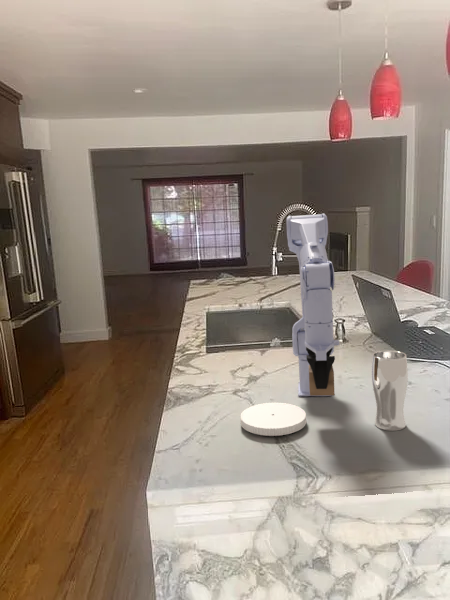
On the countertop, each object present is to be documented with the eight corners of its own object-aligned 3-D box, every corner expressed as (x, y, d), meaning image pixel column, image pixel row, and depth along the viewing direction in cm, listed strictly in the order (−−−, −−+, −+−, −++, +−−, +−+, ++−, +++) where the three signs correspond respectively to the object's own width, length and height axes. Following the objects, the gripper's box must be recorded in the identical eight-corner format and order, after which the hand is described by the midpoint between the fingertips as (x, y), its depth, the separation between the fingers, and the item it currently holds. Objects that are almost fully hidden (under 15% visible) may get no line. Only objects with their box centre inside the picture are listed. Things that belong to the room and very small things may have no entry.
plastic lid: (227, 427, 108) (226, 416, 107) (273, 408, 116) (272, 397, 116) (273, 447, 97) (273, 435, 97) (320, 424, 106) (319, 413, 105)
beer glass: (400, 416, 106) (399, 348, 104) (413, 430, 99) (413, 358, 97) (368, 419, 106) (366, 351, 104) (379, 433, 99) (378, 360, 97)
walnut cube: (309, 387, 108) (308, 365, 108) (332, 387, 108) (332, 364, 107) (309, 395, 103) (309, 372, 103) (334, 395, 103) (333, 371, 102)
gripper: (341, 328, 95) (343, 395, 98) (335, 313, 109) (337, 372, 112) (304, 329, 96) (306, 396, 99) (303, 314, 110) (305, 373, 113)
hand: (320, 383), depth 105 cm, fingers closed on walnut cube, 5 cm apart
